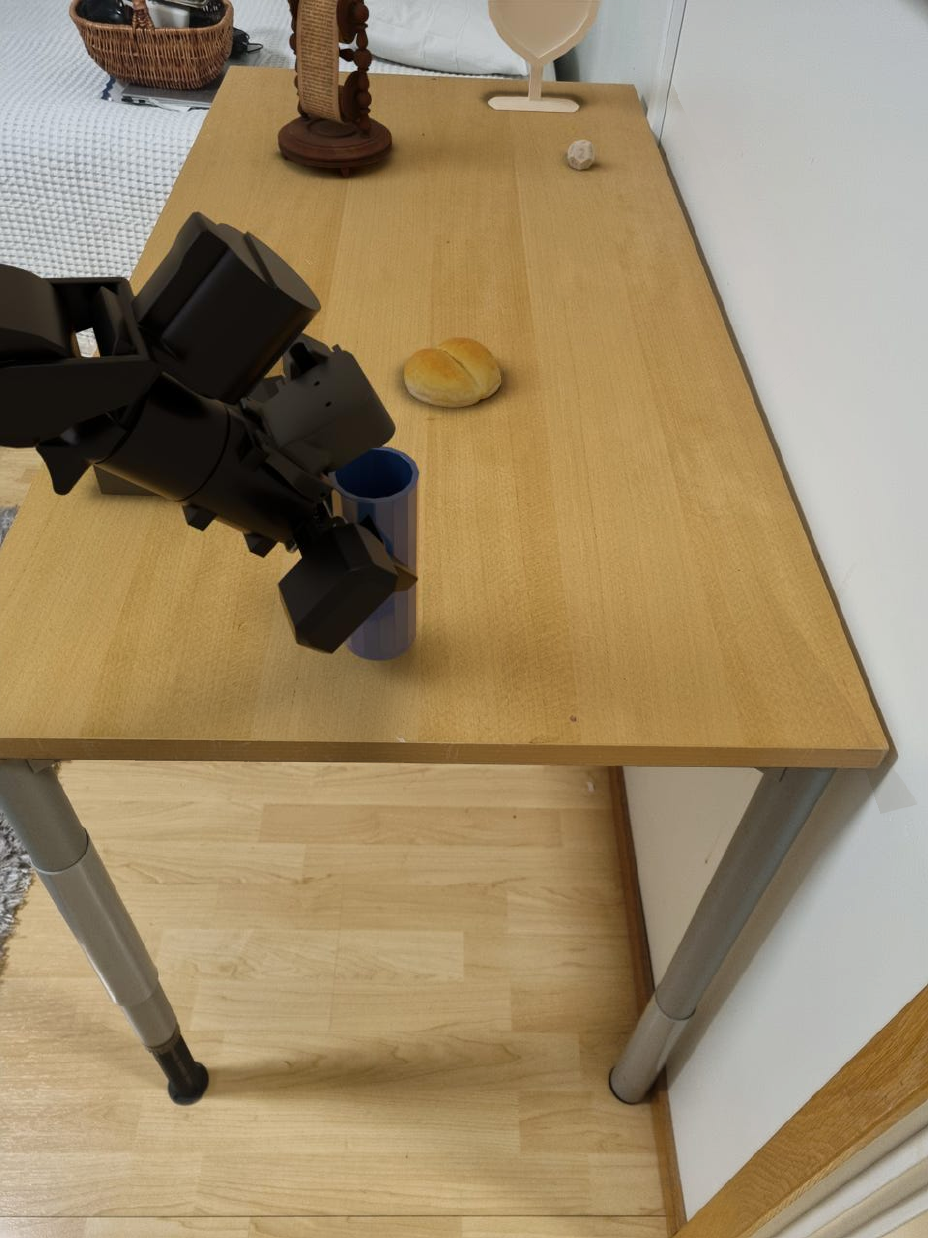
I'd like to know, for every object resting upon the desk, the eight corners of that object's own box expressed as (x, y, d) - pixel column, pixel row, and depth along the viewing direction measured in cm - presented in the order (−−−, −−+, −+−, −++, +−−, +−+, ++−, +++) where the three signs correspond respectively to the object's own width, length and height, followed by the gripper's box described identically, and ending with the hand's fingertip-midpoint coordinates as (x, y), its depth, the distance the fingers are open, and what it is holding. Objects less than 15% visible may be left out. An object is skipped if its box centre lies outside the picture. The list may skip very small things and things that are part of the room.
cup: (349, 667, 62) (337, 508, 52) (335, 612, 65) (321, 451, 55) (425, 653, 63) (428, 495, 53) (407, 599, 66) (407, 440, 56)
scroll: (256, 161, 121) (234, -21, 106) (322, 125, 130) (311, -48, 115) (351, 189, 116) (342, 4, 101) (413, 150, 125) (413, -26, 110)
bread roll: (388, 380, 89) (387, 343, 86) (465, 352, 93) (466, 316, 90) (437, 424, 85) (437, 386, 82) (515, 393, 88) (518, 356, 85)
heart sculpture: (481, 108, 136) (489, -39, 123) (480, 96, 139) (487, -49, 126) (587, 112, 137) (606, -34, 123) (583, 100, 140) (601, -44, 127)
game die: (560, 166, 124) (563, 142, 121) (577, 158, 125) (580, 134, 123) (581, 174, 122) (584, 150, 120) (598, 166, 124) (602, 142, 122)
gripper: (350, 443, 40) (552, 565, 51) (246, 245, 51) (430, 381, 62) (196, 614, 43) (416, 693, 55) (130, 394, 55) (324, 497, 66)
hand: (397, 553), depth 59 cm, fingers closed on cup, 5 cm apart
